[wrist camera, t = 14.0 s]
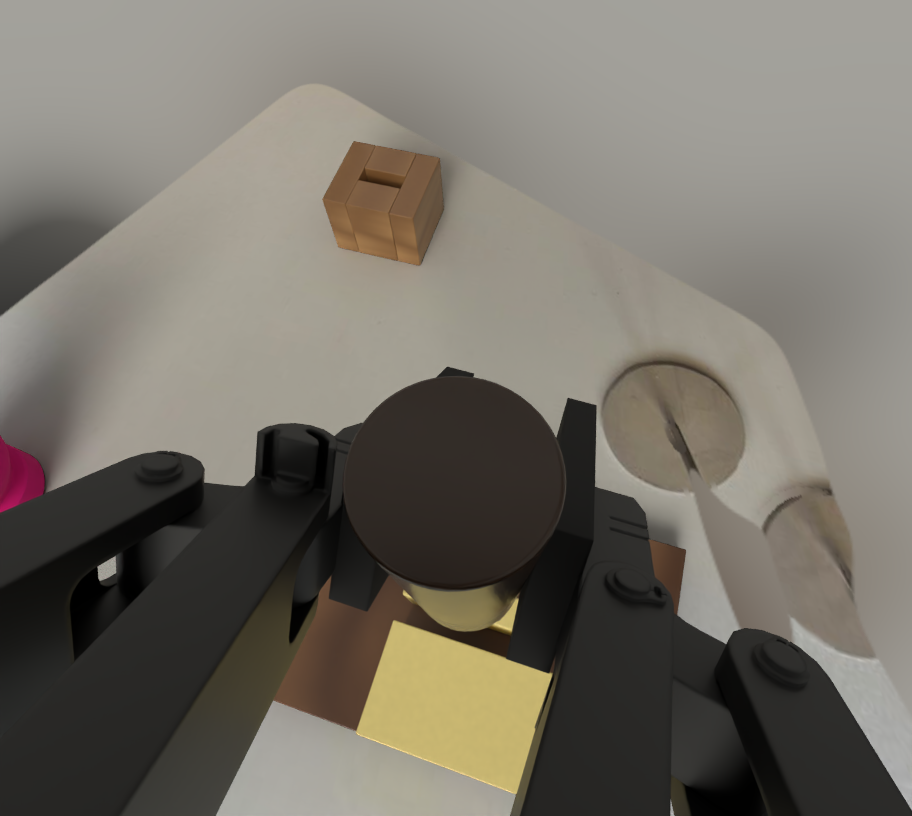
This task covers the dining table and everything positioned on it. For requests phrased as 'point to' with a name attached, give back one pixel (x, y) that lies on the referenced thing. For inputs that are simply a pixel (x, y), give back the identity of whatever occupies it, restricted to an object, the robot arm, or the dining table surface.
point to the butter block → (454, 705)
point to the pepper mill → (18, 477)
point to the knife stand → (385, 202)
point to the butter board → (364, 637)
